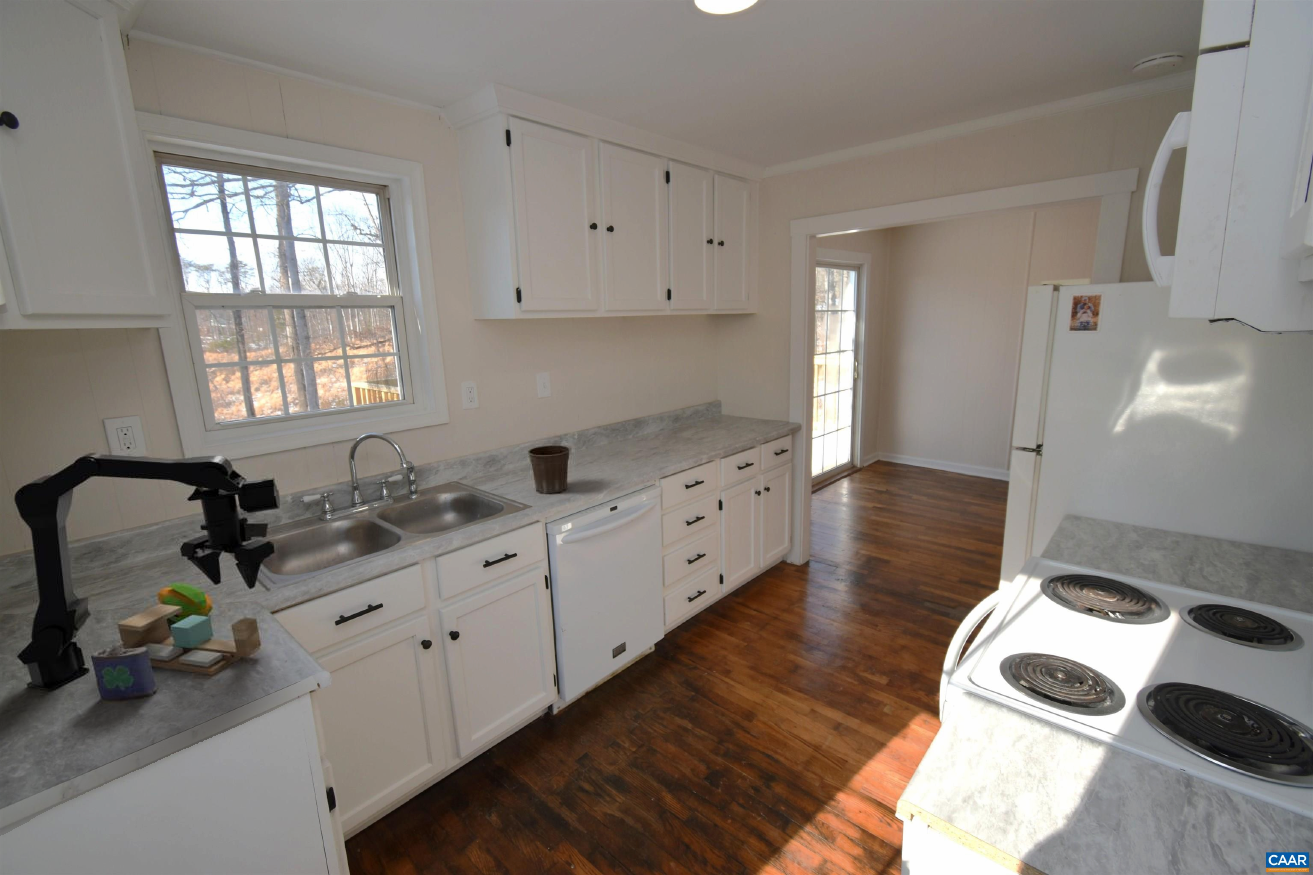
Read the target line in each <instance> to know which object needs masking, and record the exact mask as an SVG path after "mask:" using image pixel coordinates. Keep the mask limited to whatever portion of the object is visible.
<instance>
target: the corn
mask: <svg viewBox="0 0 1313 875" xmlns="http://www.w3.org/2000/svg"><path fill="white" fill-rule="evenodd" d="M168 586H169V587H165V588H164V587H163V588H162V589H160V590H158V592H157V600H158V602H159V603H160V604H162V605H171V606H179V607H182V612H180V613H178V614H176V616H175V615H174V616H172V617H169V618H168V619H170V620H171V621H173V622H175V623H178V622H180V621H182V620H184V619H186V618H188V617H190V616H192V615H197V616H205V617H208V615H209V614H211V611H213V606H212V599H211V598H210V596H209V595H208V594H205V592H204V591H202V590H201V589H199V588H197V587H195V586H194V585H191V584H187V583H179V582H178V583H175V582H174V583H169V585H168Z"/></svg>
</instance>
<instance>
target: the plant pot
mask: <svg viewBox="0 0 1313 875" xmlns="http://www.w3.org/2000/svg"><path fill="white" fill-rule="evenodd" d="M570 451H571V448H570V447H569V446H565V445H540V446H536V447H534V448H530V449H529V450H527V454H528V455H529V460H530V463H531V466H532V468H531V469H532V474H533V478H534V486H535V491H536V492H538V494H543V493H547V494H546V495H549V494H548V493H555V494H557V493H558V492H559V493H562V491H563V492H564V490H565V489H566V490H567V489H568V470H569V469H568V468H569V465H568V464H569V459H570ZM566 490H565V491H566Z"/></svg>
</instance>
